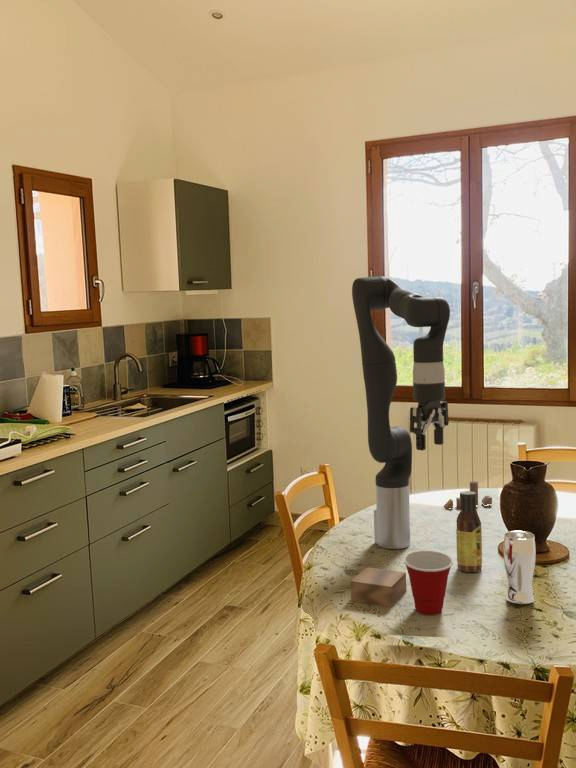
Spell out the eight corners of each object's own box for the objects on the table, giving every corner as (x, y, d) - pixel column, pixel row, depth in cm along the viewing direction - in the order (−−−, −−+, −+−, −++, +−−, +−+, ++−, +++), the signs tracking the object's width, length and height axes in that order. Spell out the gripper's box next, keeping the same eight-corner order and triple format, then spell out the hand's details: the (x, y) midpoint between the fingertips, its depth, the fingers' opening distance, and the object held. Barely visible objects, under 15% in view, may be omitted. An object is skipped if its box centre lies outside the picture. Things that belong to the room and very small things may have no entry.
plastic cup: (411, 622, 161) (410, 568, 160) (399, 603, 171) (398, 551, 170) (460, 618, 162) (459, 564, 161) (445, 599, 172) (444, 548, 171)
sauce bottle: (482, 574, 188) (481, 496, 186) (457, 573, 189) (455, 496, 187) (481, 565, 194) (480, 489, 192) (456, 564, 195) (455, 489, 193)
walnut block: (351, 601, 174) (350, 580, 174) (367, 587, 183) (366, 567, 182) (392, 608, 169) (391, 586, 169) (406, 592, 178) (405, 572, 178)
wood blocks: (489, 511, 245) (489, 480, 244) (492, 513, 242) (491, 482, 241) (414, 516, 242) (413, 484, 241) (416, 518, 240) (415, 486, 239)
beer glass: (531, 607, 166) (531, 541, 165) (500, 601, 170) (499, 537, 168) (539, 596, 172) (538, 532, 171) (508, 591, 176) (508, 528, 174)
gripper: (427, 384, 173) (428, 453, 174) (457, 378, 184) (458, 443, 185) (399, 383, 178) (401, 450, 179) (430, 377, 189) (431, 441, 190)
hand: (430, 447), depth 182 cm, fingers open, 8 cm apart
